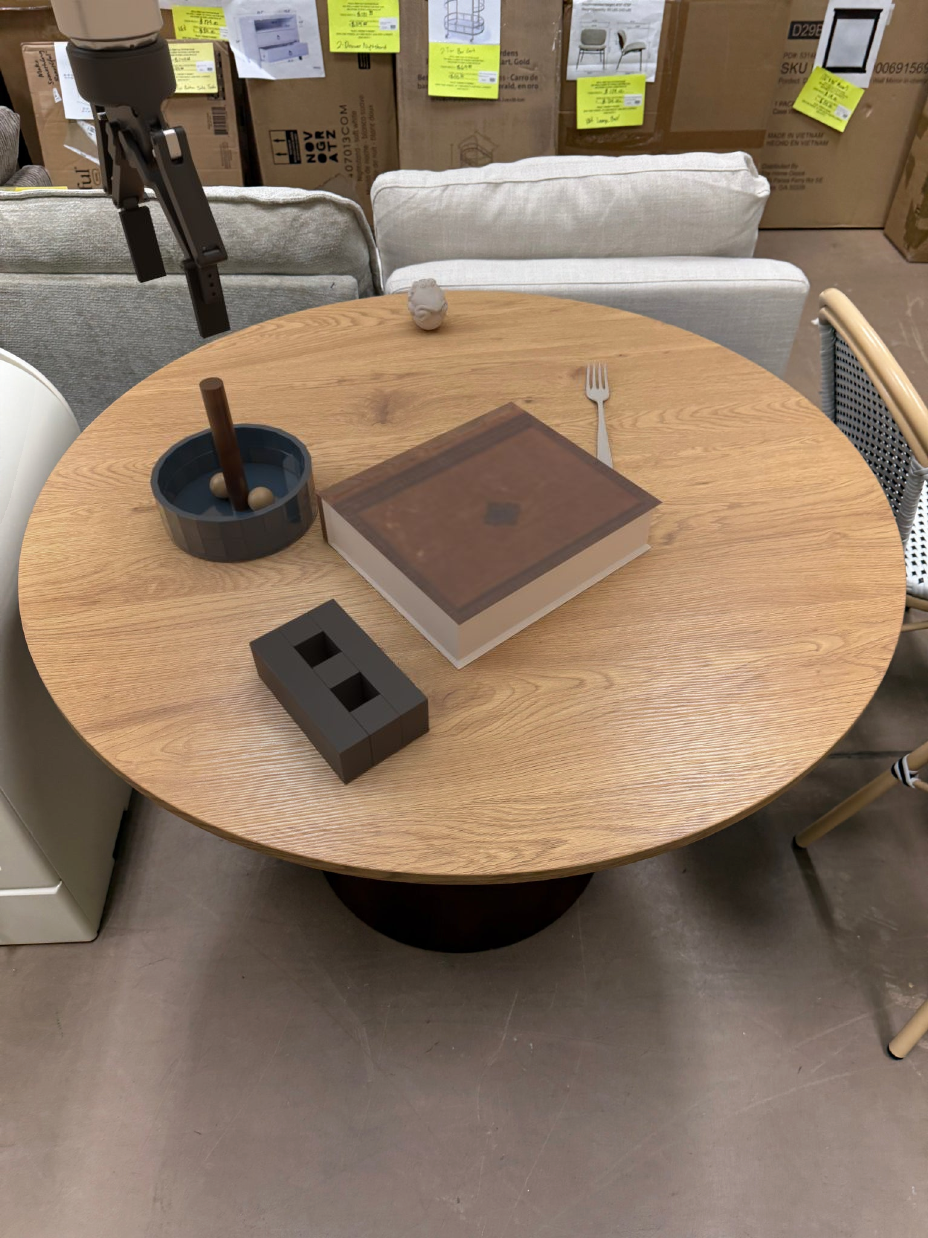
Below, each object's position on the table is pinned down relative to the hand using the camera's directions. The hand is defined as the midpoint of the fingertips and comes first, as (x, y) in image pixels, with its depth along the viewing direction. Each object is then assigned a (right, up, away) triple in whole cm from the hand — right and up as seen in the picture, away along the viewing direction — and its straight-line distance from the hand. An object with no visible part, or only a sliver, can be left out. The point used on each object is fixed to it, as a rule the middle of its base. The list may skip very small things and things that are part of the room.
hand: (182, 304), depth 77 cm
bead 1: (-1, -14, +17) cm, 22 cm away
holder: (+15, -38, -1) cm, 41 cm away
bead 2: (+4, -16, +15) cm, 23 cm away
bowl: (+1, -17, +18) cm, 25 cm away
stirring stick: (+1, -17, +17) cm, 24 cm away
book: (+29, -21, +14) cm, 39 cm away
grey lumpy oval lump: (+21, +15, +47) cm, 54 cm away
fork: (+45, -4, +31) cm, 54 cm away
